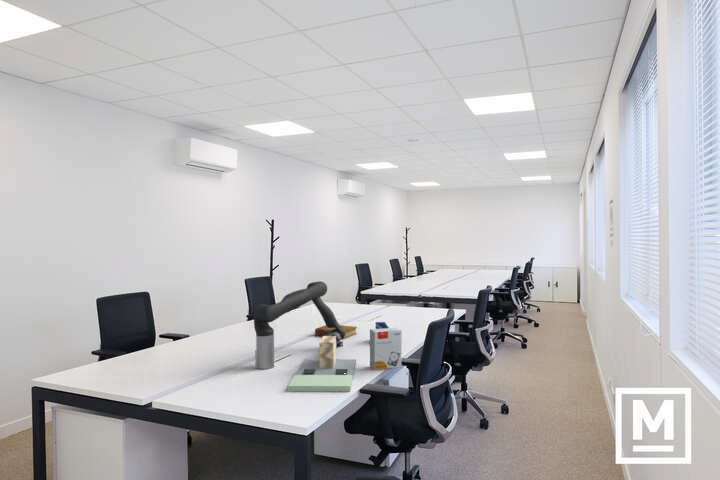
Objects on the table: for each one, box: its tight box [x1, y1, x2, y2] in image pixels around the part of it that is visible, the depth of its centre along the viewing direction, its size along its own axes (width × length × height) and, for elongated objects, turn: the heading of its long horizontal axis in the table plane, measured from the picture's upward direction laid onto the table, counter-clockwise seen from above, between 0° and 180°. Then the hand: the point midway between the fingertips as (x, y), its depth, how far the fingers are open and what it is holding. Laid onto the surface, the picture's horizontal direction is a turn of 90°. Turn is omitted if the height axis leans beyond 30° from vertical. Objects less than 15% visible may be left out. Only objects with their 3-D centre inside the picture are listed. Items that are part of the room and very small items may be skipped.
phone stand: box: [375, 321, 390, 329], centre depth 298 cm, size 12×12×12 cm
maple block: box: [318, 336, 337, 368], centre depth 240 cm, size 7×15×13 cm, turn 177°
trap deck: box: [287, 358, 357, 393], centre depth 227 cm, size 28×44×2 cm, turn 177°
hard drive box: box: [369, 327, 403, 371], centre depth 241 cm, size 16×8×20 cm, turn 105°
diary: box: [314, 324, 358, 340], centre depth 321 cm, size 23×19×6 cm
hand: (330, 347), depth 250 cm, fingers closed
